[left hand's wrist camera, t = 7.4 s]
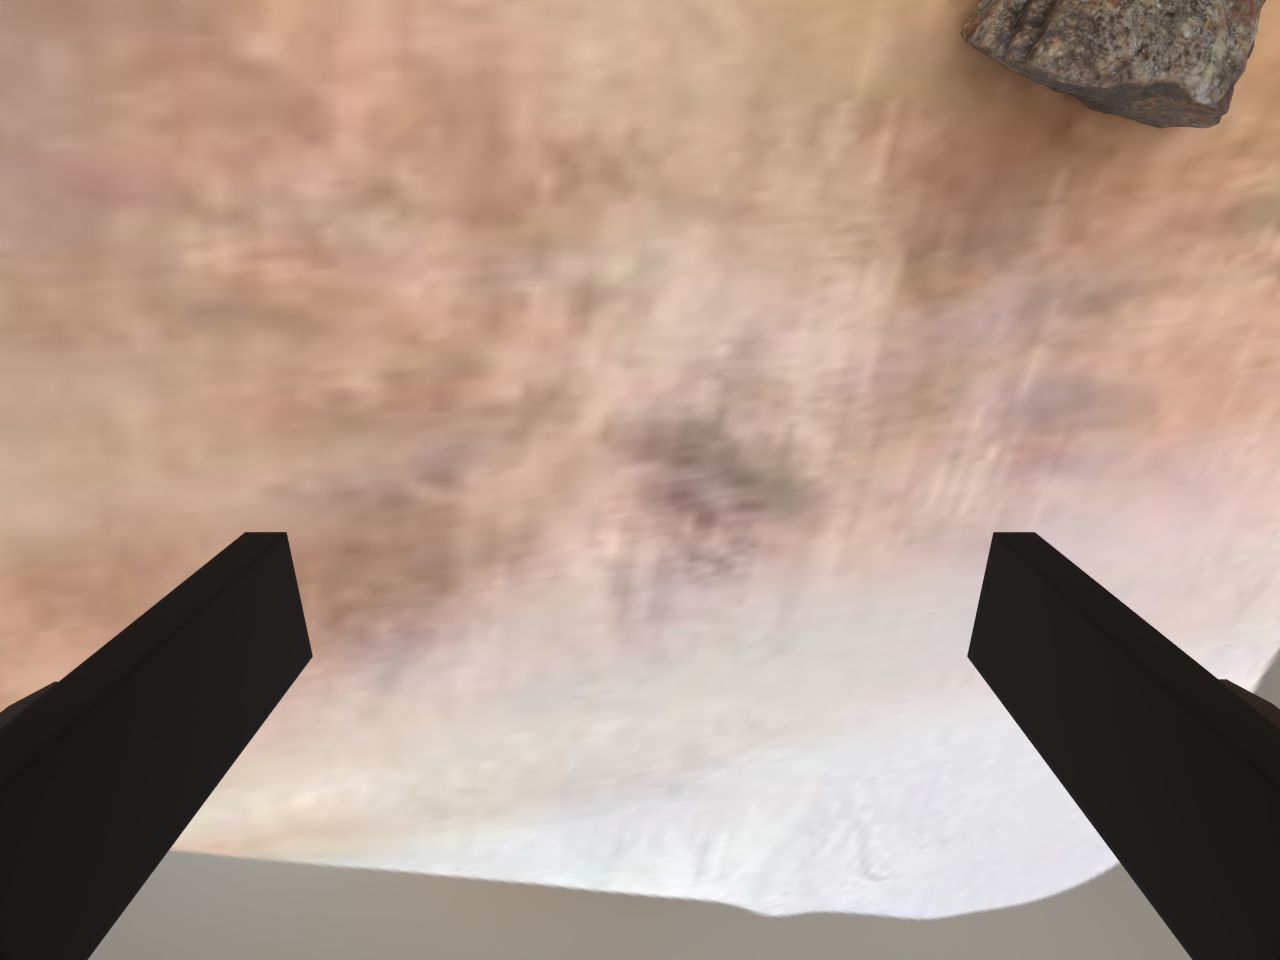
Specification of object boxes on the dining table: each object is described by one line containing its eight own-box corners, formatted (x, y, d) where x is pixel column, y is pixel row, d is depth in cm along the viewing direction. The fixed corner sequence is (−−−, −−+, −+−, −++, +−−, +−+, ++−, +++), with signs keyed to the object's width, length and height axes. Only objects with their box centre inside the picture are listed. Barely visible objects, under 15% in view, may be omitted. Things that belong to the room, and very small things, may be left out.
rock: (1150, 186, 37) (1270, -23, 33) (1305, 184, 29) (1484, -90, 25) (920, 82, 34) (1024, -158, 30) (1022, 48, 26) (1179, -282, 22)
